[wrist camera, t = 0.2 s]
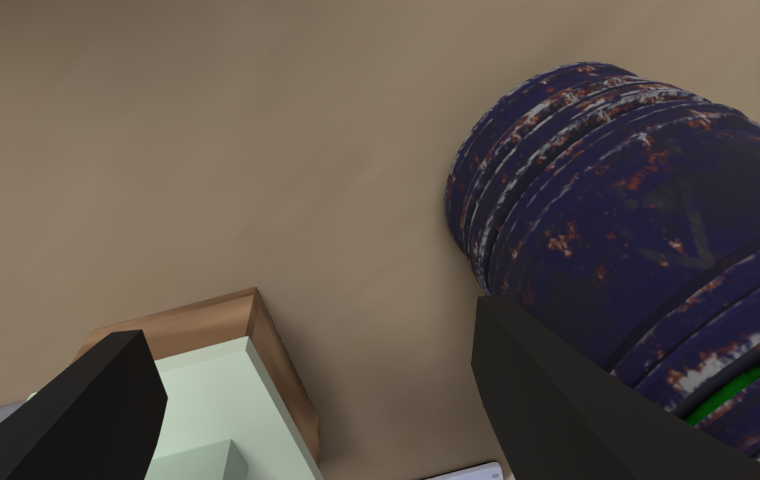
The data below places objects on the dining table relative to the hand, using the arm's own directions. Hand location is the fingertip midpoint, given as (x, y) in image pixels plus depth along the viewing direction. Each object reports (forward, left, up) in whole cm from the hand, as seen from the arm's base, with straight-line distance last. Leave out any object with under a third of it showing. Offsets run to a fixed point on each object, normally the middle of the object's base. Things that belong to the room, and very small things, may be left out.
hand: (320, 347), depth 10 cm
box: (-9, +9, -10) cm, 16 cm away
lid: (-9, +9, -6) cm, 14 cm away
